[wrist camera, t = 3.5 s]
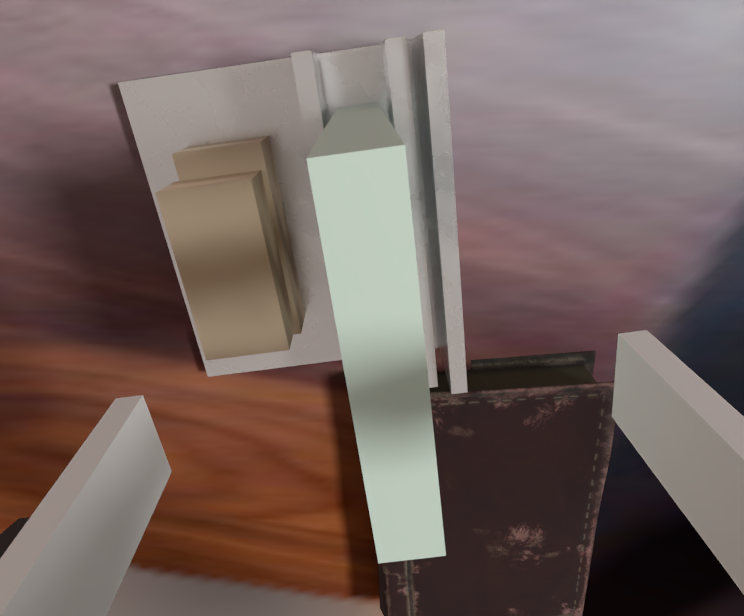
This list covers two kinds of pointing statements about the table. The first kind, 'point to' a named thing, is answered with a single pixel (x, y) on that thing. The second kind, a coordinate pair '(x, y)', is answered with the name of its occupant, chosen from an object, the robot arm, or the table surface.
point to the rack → (290, 149)
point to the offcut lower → (260, 157)
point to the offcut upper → (229, 263)
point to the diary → (512, 491)
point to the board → (379, 324)
